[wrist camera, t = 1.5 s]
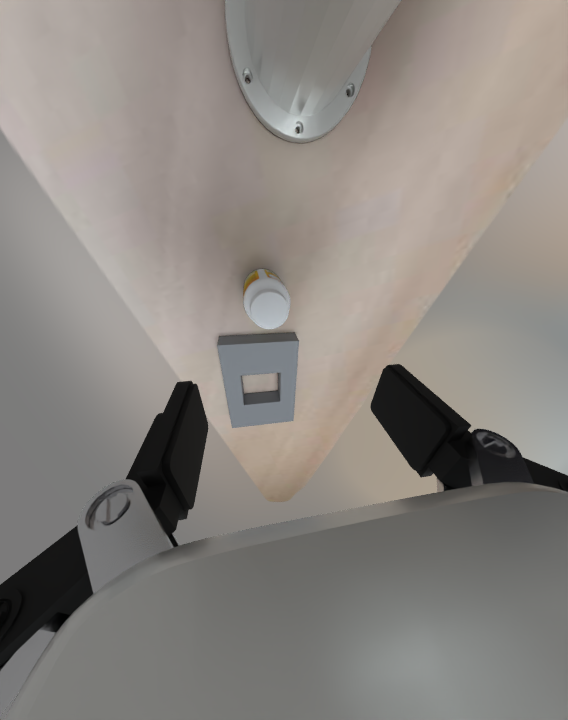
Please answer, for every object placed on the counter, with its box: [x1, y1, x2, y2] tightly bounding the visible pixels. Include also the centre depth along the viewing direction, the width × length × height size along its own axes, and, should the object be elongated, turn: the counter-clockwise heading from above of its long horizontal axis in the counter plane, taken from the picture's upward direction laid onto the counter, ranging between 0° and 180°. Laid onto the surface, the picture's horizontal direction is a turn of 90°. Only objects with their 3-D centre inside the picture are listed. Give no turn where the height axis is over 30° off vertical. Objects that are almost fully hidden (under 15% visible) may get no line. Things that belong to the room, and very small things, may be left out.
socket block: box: [217, 333, 299, 428], centre depth 36 cm, size 18×12×3 cm, turn 179°
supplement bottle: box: [243, 269, 290, 329], centre depth 24 cm, size 5×5×10 cm
